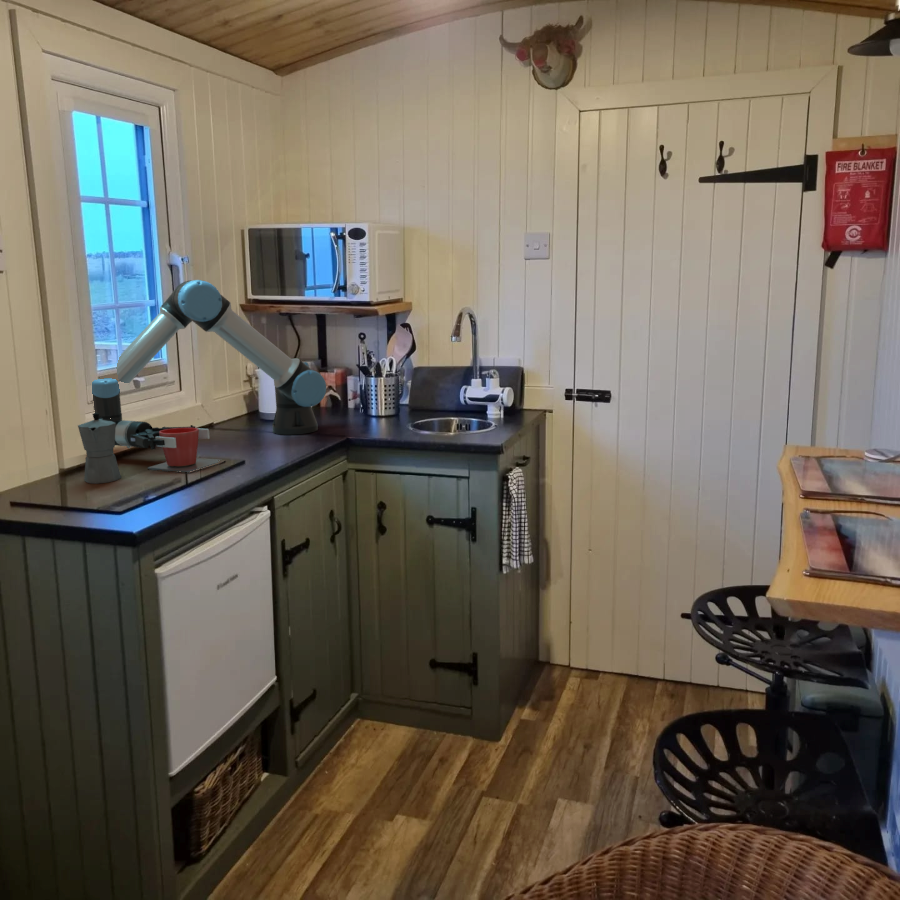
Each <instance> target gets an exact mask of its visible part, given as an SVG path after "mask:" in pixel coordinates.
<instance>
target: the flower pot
mask: <svg viewBox="0 0 900 900" xmlns="http://www.w3.org/2000/svg"><path fill="white" fill-rule="evenodd" d="M198 428H199V427H195V428H172V429H165V430H161V431H159V435H160V437H171V438H176V448H168V447H162V451H163V454H164V457H165V462H167V465H168V466H188V465H193V464H195V463H196V458H198V457H197V455H198V447H199V446H198V444H199V438H198V436H199V429H198Z"/></svg>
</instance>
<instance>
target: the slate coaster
mask: <svg viewBox="0 0 900 900" xmlns="http://www.w3.org/2000/svg"><path fill="white" fill-rule="evenodd" d="M218 460H219V461H220V460H221V459H219V458H218V459H216V458H205V457H196V463H195V464H193V465H188V466H168V465H167V461H165V462H162V463H159V464H155V465H152V466H147V470H148V469H149V470H148V471H157V470H162V471H161V472H168V471H178V472H179V471H181V472H190V471H193V470H196V469H199V468H203V467H206V466H209V465H212V464H215V463H218V462H219V461H218ZM178 472H177V473H178Z"/></svg>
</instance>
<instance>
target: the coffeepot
mask: <svg viewBox="0 0 900 900" xmlns="http://www.w3.org/2000/svg"><path fill="white" fill-rule="evenodd" d="M92 418H93V420H90V421H87V422H84V423H81V424H77V428H78V431H79V435H80V439H81V441H82V446H83V449H84V451H85V453H86V457H85V462H84V463H85V465H84V479H83V480H84V481H85V483H86V484H97V485H98V484H105V483H113V482H115V481H118V480H121V478H122V475H121V471H120V468H119V465H118V461H117V457H116V455H115V454H114V448H115V446H116V445H115V428H116V423H114V422H112V421H106V420H104V419H103V418H99V413H92Z"/></svg>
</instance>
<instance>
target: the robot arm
mask: <svg viewBox="0 0 900 900" xmlns="http://www.w3.org/2000/svg"><path fill="white" fill-rule="evenodd" d="M191 323H195V325H196V326H198V327H199V328H200V329H202V330H203V331H204V332H205V333H211V332H213V333H215V334H216V335H217V336H219V337H220V338H221V340H223V341H225V342H226V343H227V344H228V345H230V346H231V347H232V348H234V349H235V351H238V353H240V354H241V355H242V356H244V357H245V358H246V359H248V361H250V362H251V363H253V365H255V366H256V367H258V368H259V369H260V370H261V371H262V372H264V373H265V374H266V375H267V376H269V377H270V378H272V380H273V386H274V391H275V392H274V393H275V394H274V396H275V405H276V407H275V408H276V409H275V414H274V417H273V422H272V427H271V429H272V433H273V434H275V433H276V435H284V436H285V435H286V436H287V435H289V436H291V435H294V436H295V435H303V434H309V433H311V434H312V433H313V432H314V433H315V432H317V431H318V429H319V428H318V427H319V426H318V422H317V419H316V417H315V414H314V411H313V407H314V406H316V405H318V404H319V403H320V402H322V400H323V399H324V398H325V396H326V394H327V393H326V392H327V383H326V382H327V381H326V380H325V378H324V377H323V375H322V374H321V373H319V372H318V371H316V370H314V369H312V368H311V367H310V365H309V363H308V362H307V361H305V362H303V361H302V360H300V358H297V357H296V358H291V357H290V356H288V355H287V354H286V353H285V352H284V351H282V350H281V349H280V348H279V347H277V346H276V345H275V344H274V343H272V342H271V341H270V340H269V339H268V338H266V337H265V336H264V335H263V334H262V333H260V332H259V331H258V330H257V329H255V328H254V327H253V326H252V325H251V324H249V323H248V322H247V321H246V320H244V319H243V317H241V316H239V315H238V314H237V313H236V312H235V311H233V309H232V303H231V301H229V300H227V298H226V297H225V296H223V295H222V294H221V292H220V291H219V289H218V288H217V287H216V286H214V285H213V284H212V283H210V282H209V281H206V280H201V279H193V280H186V281H183V282H181V283H180V284H178V285H177V286H176V287H175V288H174V290H173V291H172V293H171V294H170V295H169V297H168V298H167V299H166V300H165V301H164V302H163V303H162V304H161V306H160V307H159V313H158V314H157V315H156V316H155V317H154V318H153V319H152V321H151V322H149V324H148V325H147V326H146V327H145V328H144V329H143V330H142V331H141V332H140V333H139V334H138V335H137V337H136V338H135V339H134V340H133V341H132V342H130V344H128V346H127V348H126V349H124V351H123V352H121V354H120V355H121V356H120V355H119V356H120V357H119V356H118V357H119V360H118V363H117V367H116V369H117V375H118V379H119V381H121V382H124V383H129V384H130V383H131V382H132V381H133V380H134V379H135V377H137V375H138V374H139V373H140V372H141V371H142V370H143V369H144V368H146V365H148V364H149V363H150V361H151V360H152V359H153V358H154V357H155V356H156V355H157V354H158V353H160V351H161V350H162V348H163V347H164V346H165V345H166V344H167V343H168V342H169V341H170V340H171V339H172V338H173V337H174V336H175V335H176V333H178V332H179V330H184V329H186V328H187V327H188V326H189V325H190V324H191ZM93 380H94V381H93ZM93 380H92V381H93V382H92V381H91V382H92V394H93V401H94V406H93V411H94V410H95V413H99V418H103V419H104V420H106V421H112V422H114V423H116V428H115V446H118V447H119V446H120V447H126V449H131V448H132V447H133V448H140V449H149V446H150V450H156V447H157V448H158V447H159V448H163V447H168V448H176V438H171V437H160V435H159V431H161V430H165V429H172V428H196V426H194V425H193V424H192V425H191V424H190V426H163V427H157V426H156V427H153V426H152V425H151V424H150V423H149V422H147V421H139V420H138V421H137V420H125V419H124V420H123V413H122V403H121V393H120V389H119V384H118V381H117V380H116V379H112V378H104V379H99V378H97V380H96V379H93ZM110 418H111V419H110ZM197 428H198V429H199V436H198V439H206V440H209V439H210V438H211V437H210V429H209V428H199V427H197Z"/></svg>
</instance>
